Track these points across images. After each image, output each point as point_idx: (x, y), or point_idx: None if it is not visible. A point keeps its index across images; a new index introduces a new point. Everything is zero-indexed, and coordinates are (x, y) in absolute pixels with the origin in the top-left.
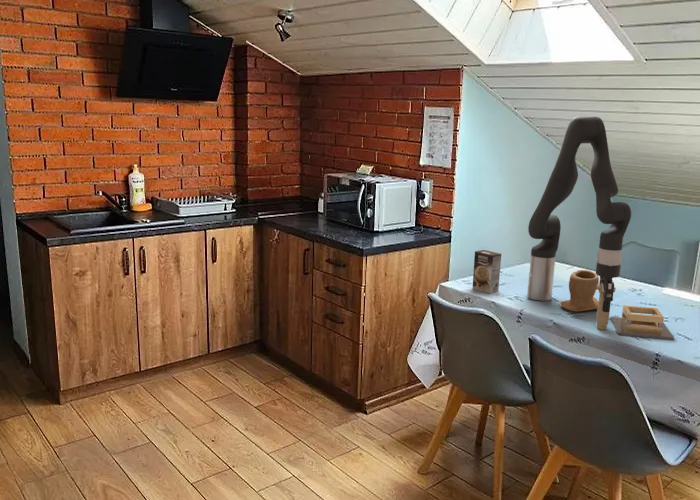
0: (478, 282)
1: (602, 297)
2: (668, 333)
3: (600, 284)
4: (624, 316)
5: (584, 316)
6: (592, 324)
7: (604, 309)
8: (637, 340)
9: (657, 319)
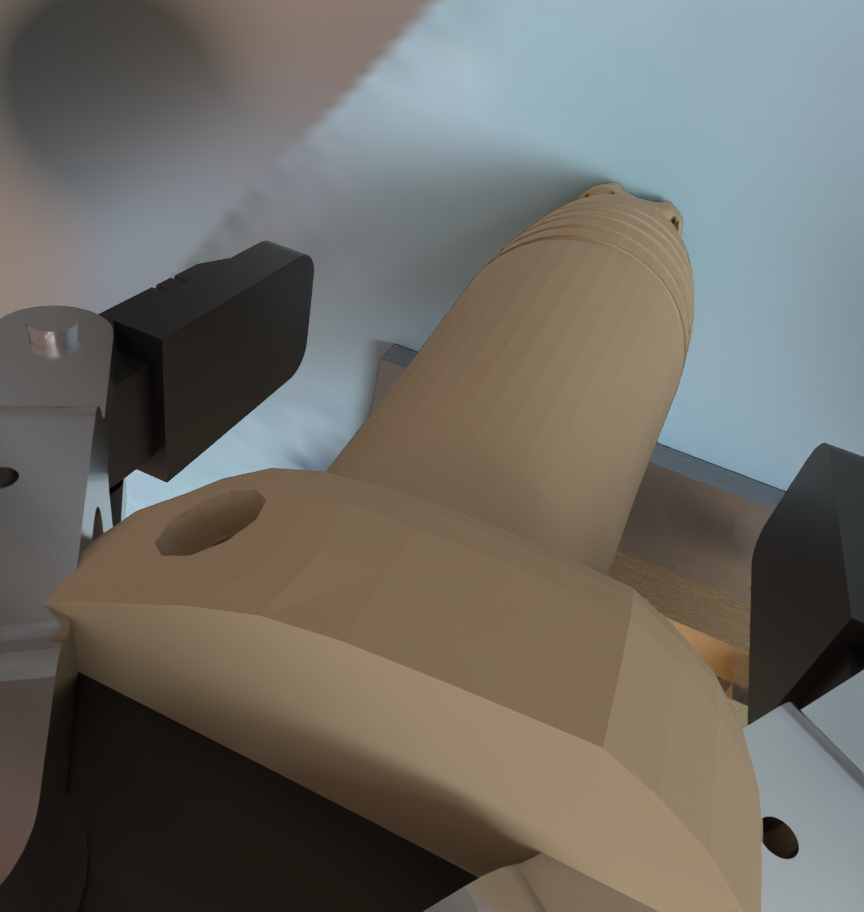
0: None
1: (356, 443)
2: None
3: (497, 876)
4: (743, 672)
5: None
6: (829, 192)
7: (197, 266)
8: (274, 444)
9: None
